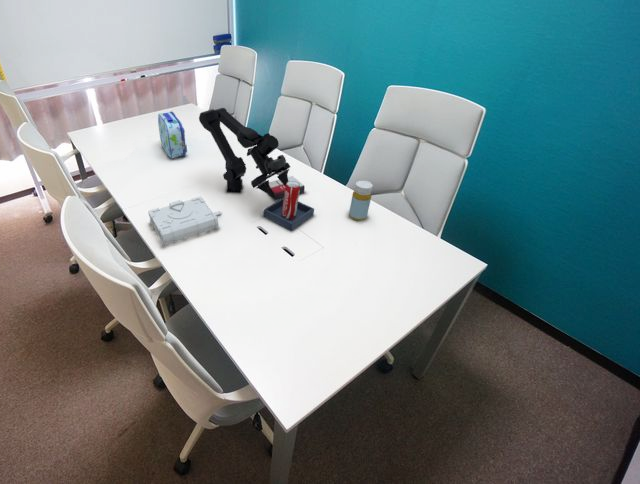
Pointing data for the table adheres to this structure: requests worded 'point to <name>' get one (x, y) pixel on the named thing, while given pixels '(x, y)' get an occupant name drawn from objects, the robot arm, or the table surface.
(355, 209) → the bottle
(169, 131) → the lunch box
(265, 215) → the tray
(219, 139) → the robot arm
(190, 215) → the grey case
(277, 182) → the calculator
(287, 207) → the beverage can
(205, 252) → the table surface
